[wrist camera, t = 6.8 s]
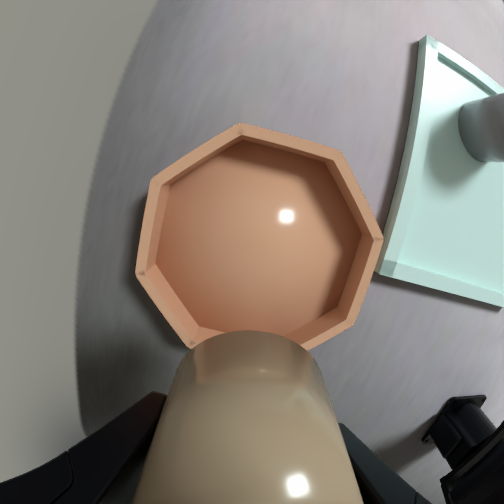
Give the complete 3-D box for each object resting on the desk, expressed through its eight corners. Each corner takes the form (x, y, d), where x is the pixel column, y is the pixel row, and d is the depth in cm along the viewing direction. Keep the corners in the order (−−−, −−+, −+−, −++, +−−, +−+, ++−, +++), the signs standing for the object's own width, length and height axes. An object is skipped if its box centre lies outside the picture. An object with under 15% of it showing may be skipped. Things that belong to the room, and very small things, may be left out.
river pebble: (345, 346, 8) (414, 485, 3) (294, 445, 9) (311, 561, 4) (185, 312, 8) (119, 463, 3) (168, 423, 9) (133, 542, 4)
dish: (383, 174, 17) (401, 173, 14) (323, 354, 20) (331, 375, 17) (179, 118, 16) (168, 109, 13) (142, 314, 19) (129, 331, 16)
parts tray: (540, 133, 15) (548, 132, 14) (504, 305, 19) (512, 309, 18) (418, 40, 14) (426, 34, 13) (371, 268, 18) (378, 274, 17)
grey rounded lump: (499, 119, 15) (542, 113, 10) (493, 171, 16) (539, 174, 11) (460, 90, 15) (504, 76, 10) (454, 146, 16) (502, 142, 11)
